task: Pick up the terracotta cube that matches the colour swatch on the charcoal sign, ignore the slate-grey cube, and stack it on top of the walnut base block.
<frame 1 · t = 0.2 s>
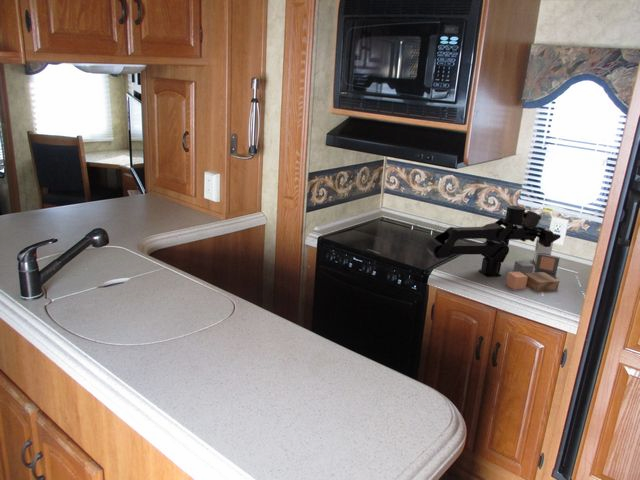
hand: (552, 233, 220), 16 cm above the countertop, tool horizontal, fingers open, 9 cm apart
slate cube: (522, 275, 220), on the countertop
base block: (539, 286, 210), on the countertop
swatch sign: (544, 274, 222), on the countertop
syrup box: (540, 263, 235), on the countertop
terracotta cube: (515, 286, 208), on the countertop
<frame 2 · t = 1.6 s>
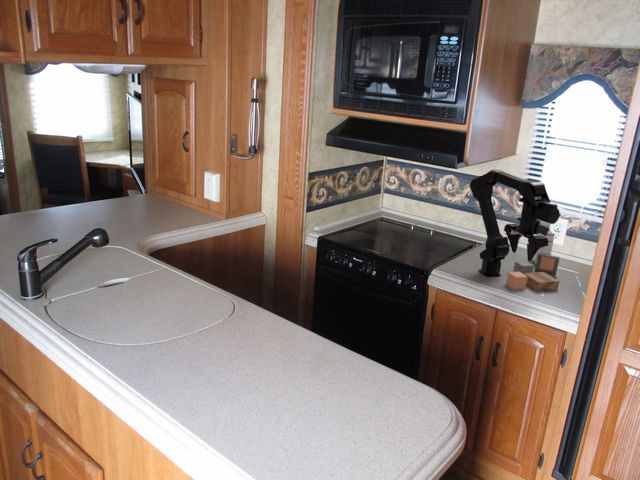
hand: (521, 256, 204), 12 cm above the countertop, tool pointing down, fingers open, 9 cm apart
nothing on the countertop moved.
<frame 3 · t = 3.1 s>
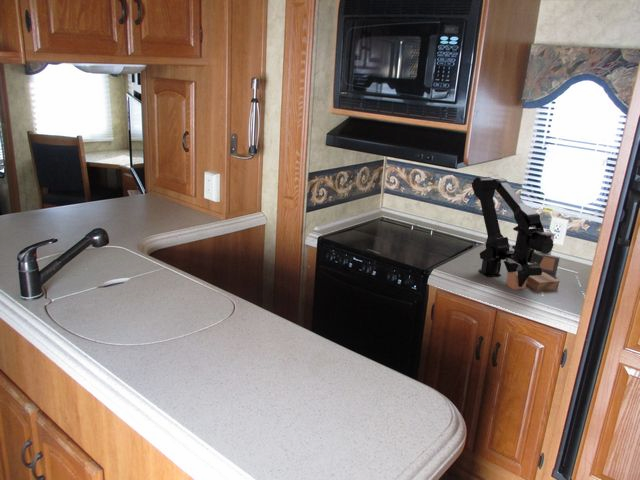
hand: (516, 283, 208), 1 cm above the countertop, tool pointing down, fingers closed on terracotta cube, 5 cm apart
terracotta cube: (515, 286, 208), on the countertop, touching gripper
everything else where it was.
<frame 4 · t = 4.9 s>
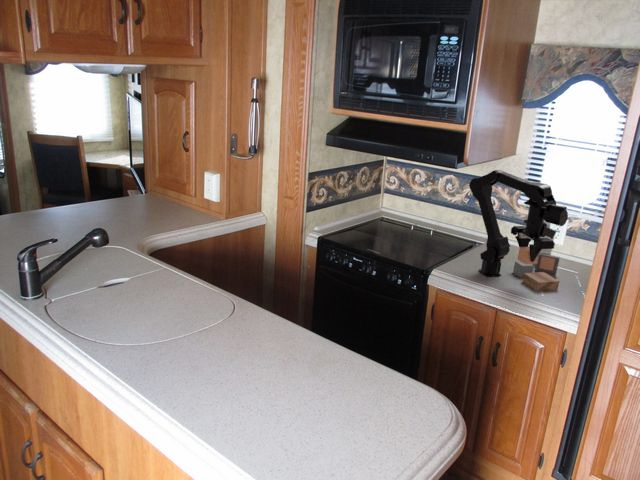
hand: (527, 259, 205), 11 cm above the countertop, tool pointing down, fingers closed on terracotta cube, 5 cm apart
terracotta cube: (527, 261, 205), point 10 cm above the countertop, touching gripper
everything else where it was.
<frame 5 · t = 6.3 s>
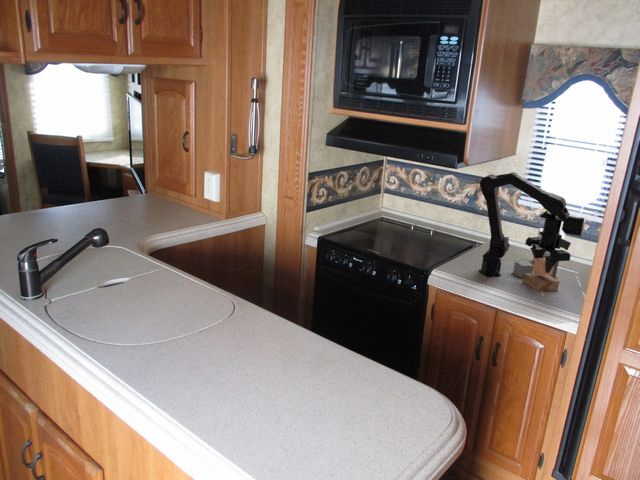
hand: (542, 270, 208), 7 cm above the countertop, tool pointing down, fingers closed on terracotta cube, 5 cm apart
terracotta cube: (542, 272, 208), point 5 cm above the countertop, touching gripper
everything else where it was.
when the fingers open (6 cm above the countertop, at t = 6.9 s): terracotta cube drops 2 cm, point 4 cm above the countertop.
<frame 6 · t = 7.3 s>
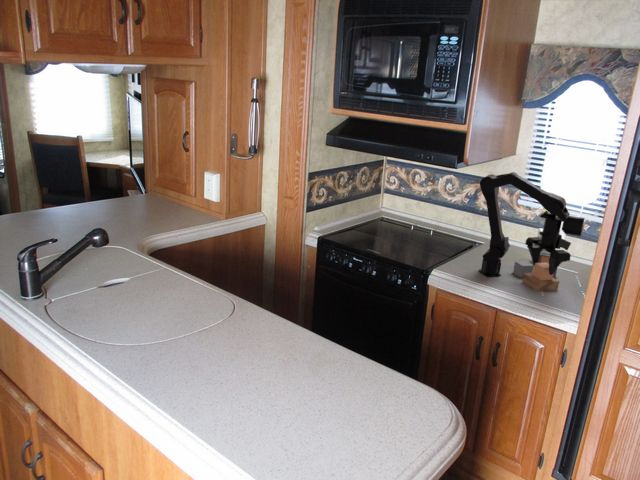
hand: (542, 270, 208), 6 cm above the countertop, tool pointing down, fingers open, 9 cm apart
terracotta cube: (542, 277, 209), point 4 cm above the countertop
everything else where it was.
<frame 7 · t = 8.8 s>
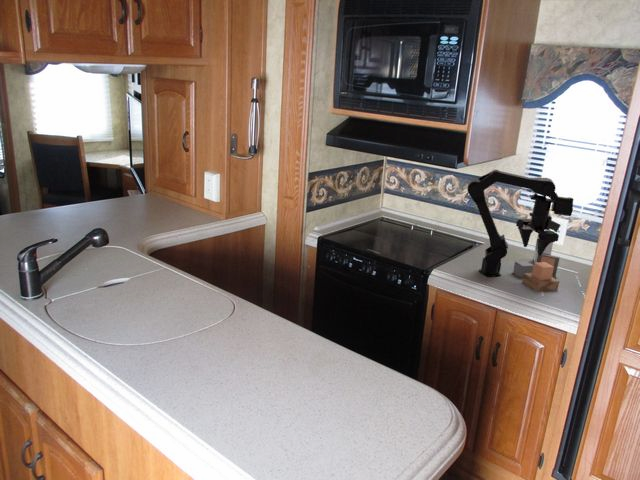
hand: (532, 251, 212), 12 cm above the countertop, tool pointing down, fingers open, 9 cm apart
base block: (539, 286, 210), on the countertop, touching terracotta cube
terracotta cube: (541, 277, 209), point 4 cm above the countertop, touching base block
everything else where it was.
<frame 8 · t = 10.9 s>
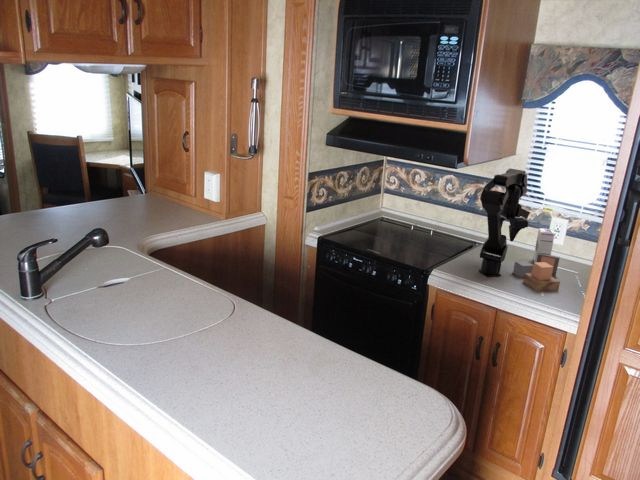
hand: (504, 237, 225), 12 cm above the countertop, tool pointing down, fingers open, 9 cm apart
nothing on the countertop moved.
at the end: terracotta cube 0.4 cm off-centre on the base block, point 4.0 cm above the base block's base; terracotta cube tilted 0°; slate cube moved 0.1 cm from its start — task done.
